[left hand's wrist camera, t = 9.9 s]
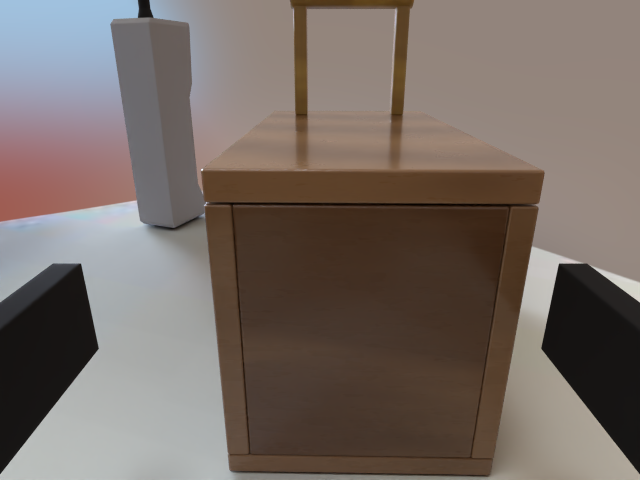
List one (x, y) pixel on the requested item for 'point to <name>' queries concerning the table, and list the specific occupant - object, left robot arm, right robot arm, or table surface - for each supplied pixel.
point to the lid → (364, 147)
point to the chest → (366, 332)
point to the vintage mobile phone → (158, 116)
